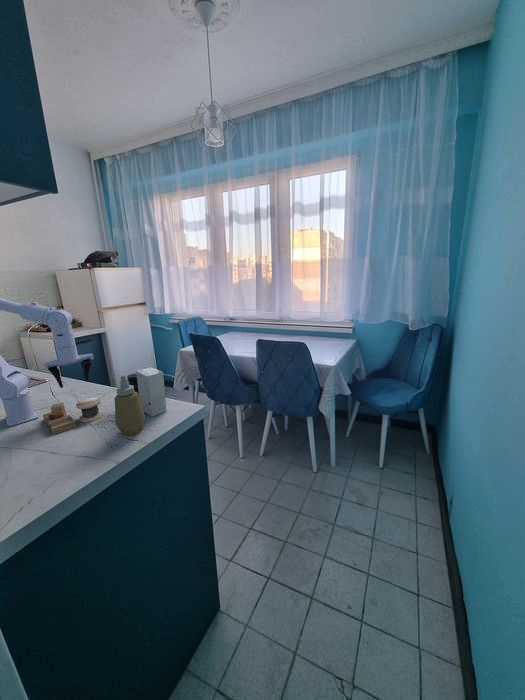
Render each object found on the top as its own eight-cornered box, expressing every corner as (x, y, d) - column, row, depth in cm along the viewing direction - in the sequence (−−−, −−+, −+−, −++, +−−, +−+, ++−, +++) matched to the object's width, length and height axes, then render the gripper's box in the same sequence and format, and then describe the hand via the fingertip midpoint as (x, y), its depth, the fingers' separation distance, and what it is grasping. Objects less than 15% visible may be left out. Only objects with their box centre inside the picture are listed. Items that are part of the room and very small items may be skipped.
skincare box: (140, 410, 102) (134, 370, 98) (156, 404, 106) (150, 366, 103) (152, 417, 97) (146, 375, 93) (168, 410, 101) (163, 370, 97)
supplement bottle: (141, 411, 102) (136, 379, 98) (124, 409, 103) (119, 378, 100) (152, 402, 108) (148, 372, 105) (136, 401, 109) (131, 371, 106)
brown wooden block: (54, 423, 95) (50, 408, 94) (56, 419, 98) (52, 404, 97) (65, 421, 96) (61, 406, 95) (66, 417, 99) (63, 402, 98)
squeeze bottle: (113, 432, 88) (103, 377, 84) (139, 422, 94) (131, 369, 89) (124, 441, 83) (114, 383, 78) (151, 430, 89) (142, 375, 84)
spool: (76, 417, 99) (73, 402, 97) (99, 410, 103) (96, 396, 102) (83, 424, 94) (79, 408, 92) (106, 416, 99) (103, 401, 97)
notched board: (44, 419, 98) (42, 414, 97) (64, 413, 102) (63, 408, 101) (53, 434, 88) (52, 428, 88) (76, 426, 92) (74, 421, 92)
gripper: (86, 340, 105) (93, 375, 109) (37, 348, 95) (47, 387, 99) (92, 343, 100) (99, 379, 104) (41, 352, 90) (51, 392, 94)
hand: (74, 383), depth 101 cm, fingers open, 7 cm apart
